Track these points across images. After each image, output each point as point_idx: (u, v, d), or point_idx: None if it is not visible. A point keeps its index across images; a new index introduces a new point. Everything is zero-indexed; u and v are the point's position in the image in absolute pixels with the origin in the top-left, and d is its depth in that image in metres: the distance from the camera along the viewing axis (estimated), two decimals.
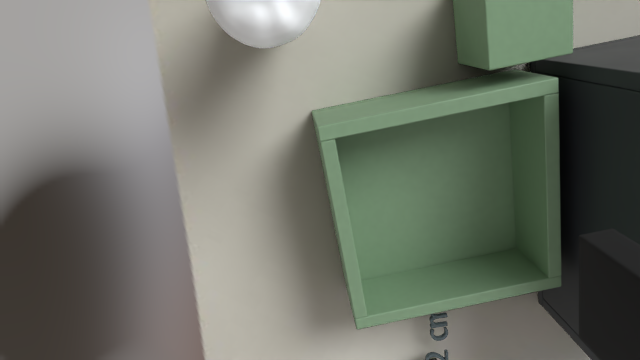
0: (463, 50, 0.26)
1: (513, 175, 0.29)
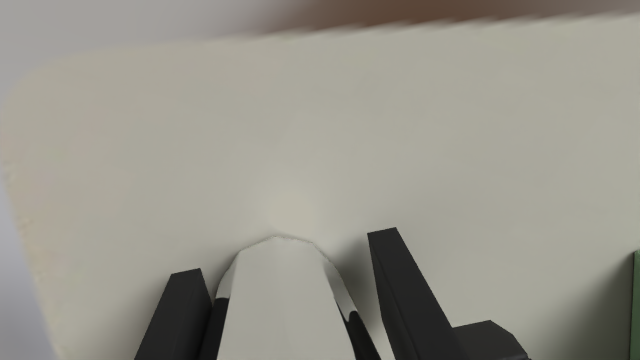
0: None
1: None
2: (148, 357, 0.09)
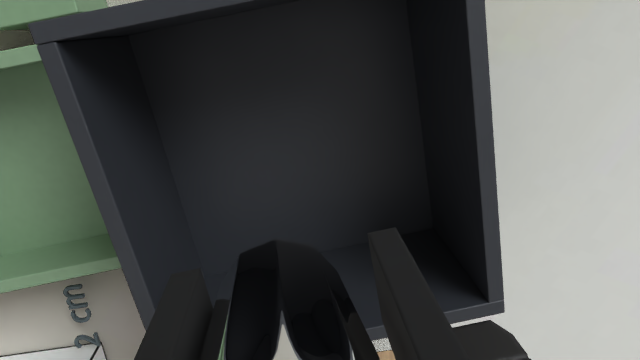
0: None
1: None
2: (148, 357, 0.09)
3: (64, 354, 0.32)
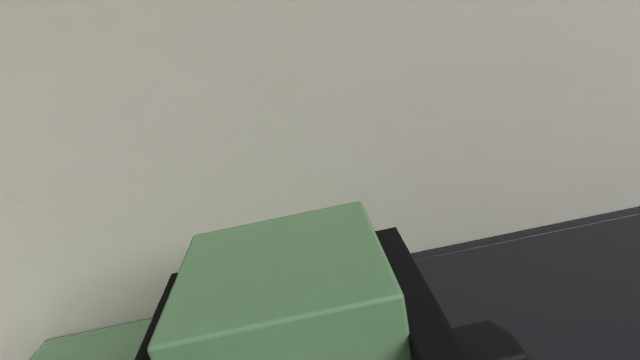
0: None
1: None
2: (148, 357, 0.09)
3: None
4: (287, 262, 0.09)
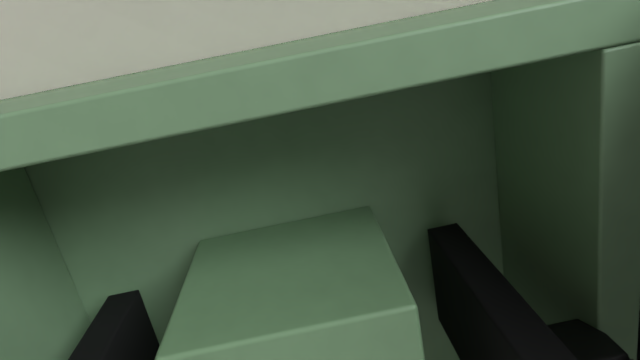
0: None
1: (503, 260, 0.12)
2: None
3: None
4: (297, 269, 0.09)
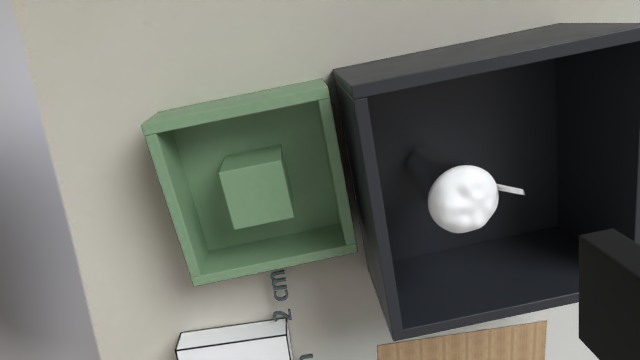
0: None
1: (328, 164, 0.36)
2: None
3: (261, 326, 0.40)
4: (254, 158, 0.33)
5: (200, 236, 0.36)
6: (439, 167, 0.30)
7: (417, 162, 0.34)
